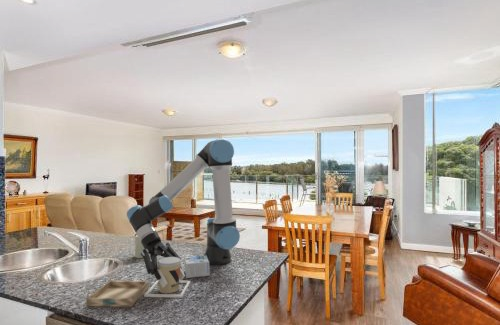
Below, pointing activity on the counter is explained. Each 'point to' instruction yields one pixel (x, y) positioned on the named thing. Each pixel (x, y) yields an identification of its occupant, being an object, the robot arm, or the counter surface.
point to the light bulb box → (196, 266)
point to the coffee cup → (170, 273)
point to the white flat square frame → (167, 294)
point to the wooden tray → (118, 293)
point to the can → (138, 248)
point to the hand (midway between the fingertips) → (174, 281)
